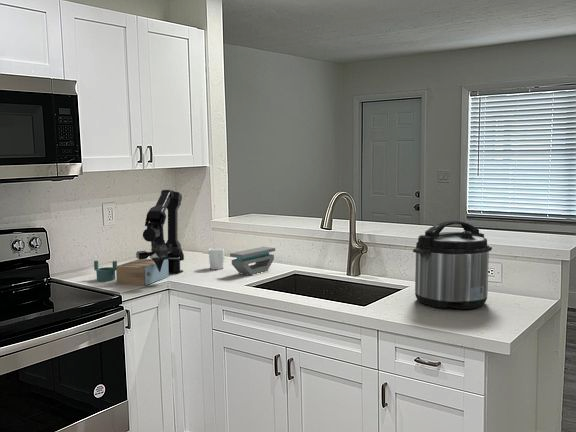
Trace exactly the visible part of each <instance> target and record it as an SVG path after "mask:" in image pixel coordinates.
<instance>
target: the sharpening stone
mask: <svg viewBox="0 0 576 432" xmlns="http://www.w3.org/2000/svg"><path fill="white" fill-rule="evenodd" d="M272 252H276V247H270V246H269V247H268V246H260V247H254V248H250V249H245V250H239V251H235V252H231V253H229V257H230V258H235V259H232V260H231V265H232V267H234V269H235V270H236V271H237V272H238V274H240V273H242V275H246V274H249V275H248V276H254V275H253V274H256V275H258V274H257V273H260V274H262V273H261V272H263V273H266V272H265V271H267V272H268V271H269V269H270V267H271V265H272V263H273V262H274V260H275V255H274V254H270V253H272Z"/></svg>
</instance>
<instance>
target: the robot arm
mask: <svg viewBox="0 0 576 432" xmlns="http://www.w3.org/2000/svg"><path fill="white" fill-rule="evenodd" d="M182 201H183V195H182V193H180V192H179V191H174V190H172V189H162V190H161V192H160V195H159V198H158V199H157V202H156V203H155V205H154V206H152V207H151V208H150V209H149V210H148V212H147V213H146V217H145V222H144V227H146V229H144V230H143V233H142V238H143V239H144V241H146V242H148V243H149V242H150V247H151V248H150V251H146V250H140V251H139V250H137V251H136V253H135V255H136V256H135V257H136V258H137V259H153V261H154V262H155V264H156V266H157V269H158V271H159V272H160V271H161V267H162V264H163V261H164V260H166V259H168V270H169V274H180V273H183V272H184V270H183V269H181V261H185V253H184V251H183V249H182V244H181V243H180V241H179V240H178V212H179V211H178V209H179V208H180V207H181V205H182ZM166 210H167V215H166ZM166 219H167V240H166V241H165V235H164V234H165V233H164V225H165V224H166Z"/></svg>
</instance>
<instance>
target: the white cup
mask: <svg viewBox="0 0 576 432" xmlns="http://www.w3.org/2000/svg"><path fill="white" fill-rule="evenodd" d="M208 259H209V269H210V268H211V269H210V270H214V269H219V270H222V269H221V268H223V269H224V264H225V248H223V247H212V248H208Z"/></svg>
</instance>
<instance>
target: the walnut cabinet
mask: <svg viewBox="0 0 576 432" xmlns="http://www.w3.org/2000/svg"><path fill="white" fill-rule="evenodd" d="M154 263H155V262H154V261H153V259H151V258H147V259H138V258H137V259H135V260H132V261H128V262H125V263H122V264H119V265H117V266H116V270H115V278H116V285H127V286H128V285H130V286H131V285H133V286H142V287H143V286H144V287H145V286H146V285H145V269H144V267H146V266H148V265H151V264H154Z"/></svg>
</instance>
